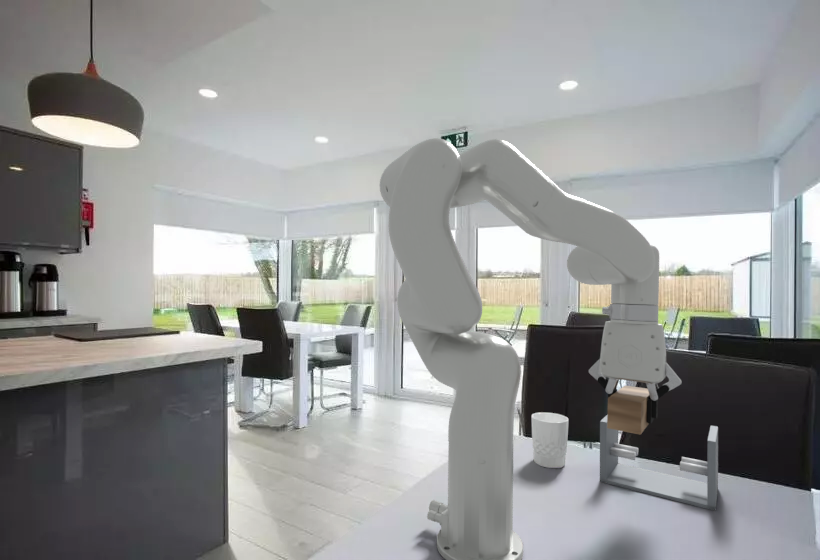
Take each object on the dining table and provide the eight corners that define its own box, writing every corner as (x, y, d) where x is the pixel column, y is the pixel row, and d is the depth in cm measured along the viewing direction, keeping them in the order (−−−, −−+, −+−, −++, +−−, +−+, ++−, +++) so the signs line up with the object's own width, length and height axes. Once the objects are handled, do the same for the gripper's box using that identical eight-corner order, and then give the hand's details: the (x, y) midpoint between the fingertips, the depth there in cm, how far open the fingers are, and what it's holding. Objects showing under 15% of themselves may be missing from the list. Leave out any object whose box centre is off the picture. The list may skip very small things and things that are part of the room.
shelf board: (640, 434, 71) (641, 403, 71) (607, 428, 74) (607, 397, 74) (654, 416, 82) (654, 389, 83) (624, 411, 85) (624, 385, 86)
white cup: (523, 459, 101) (523, 414, 101) (549, 453, 105) (549, 410, 105) (549, 472, 94) (550, 424, 94) (576, 465, 98) (576, 419, 98)
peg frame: (599, 481, 90) (600, 421, 90) (612, 464, 98) (612, 409, 99) (715, 510, 78) (715, 441, 78) (717, 488, 87) (718, 426, 87)
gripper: (578, 312, 81) (575, 413, 80) (688, 318, 71) (686, 434, 70) (589, 311, 87) (587, 406, 86) (692, 317, 77) (690, 423, 76)
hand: (631, 417), depth 78 cm, fingers closed on shelf board, 5 cm apart
